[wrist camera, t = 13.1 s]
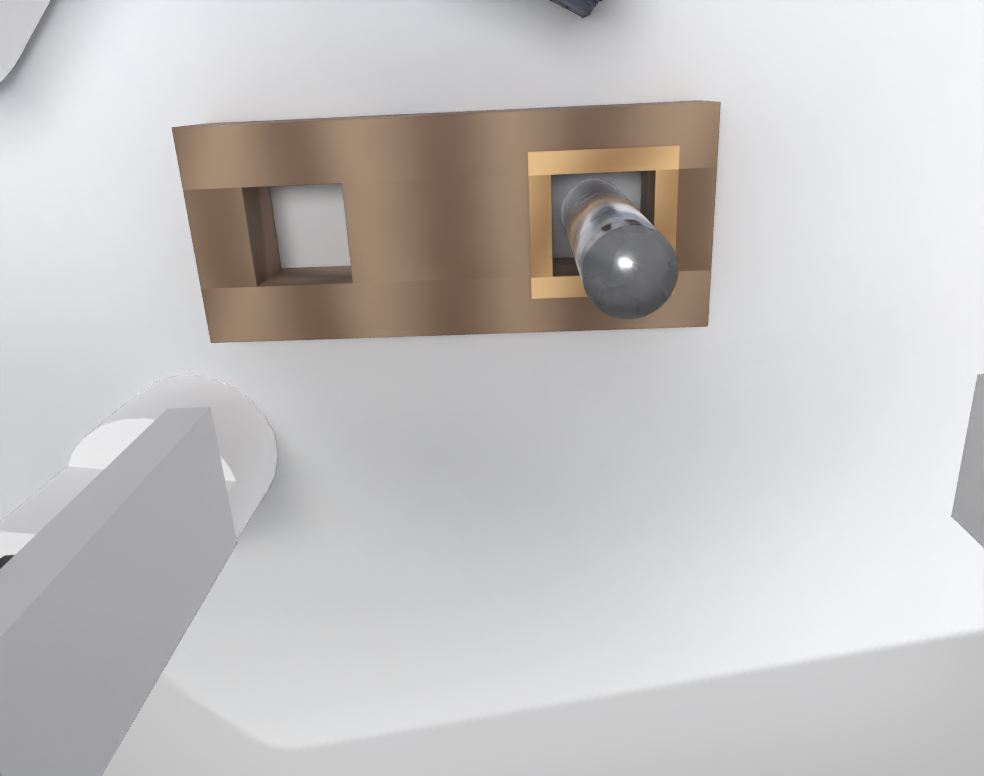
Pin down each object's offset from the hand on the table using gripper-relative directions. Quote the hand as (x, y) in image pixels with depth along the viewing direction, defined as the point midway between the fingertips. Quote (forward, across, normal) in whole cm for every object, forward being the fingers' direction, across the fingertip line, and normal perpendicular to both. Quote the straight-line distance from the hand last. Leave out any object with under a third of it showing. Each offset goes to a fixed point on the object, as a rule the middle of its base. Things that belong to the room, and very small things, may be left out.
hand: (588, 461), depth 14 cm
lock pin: (+28, +3, 0) cm, 28 cm away
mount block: (+28, -4, 0) cm, 28 cm away
